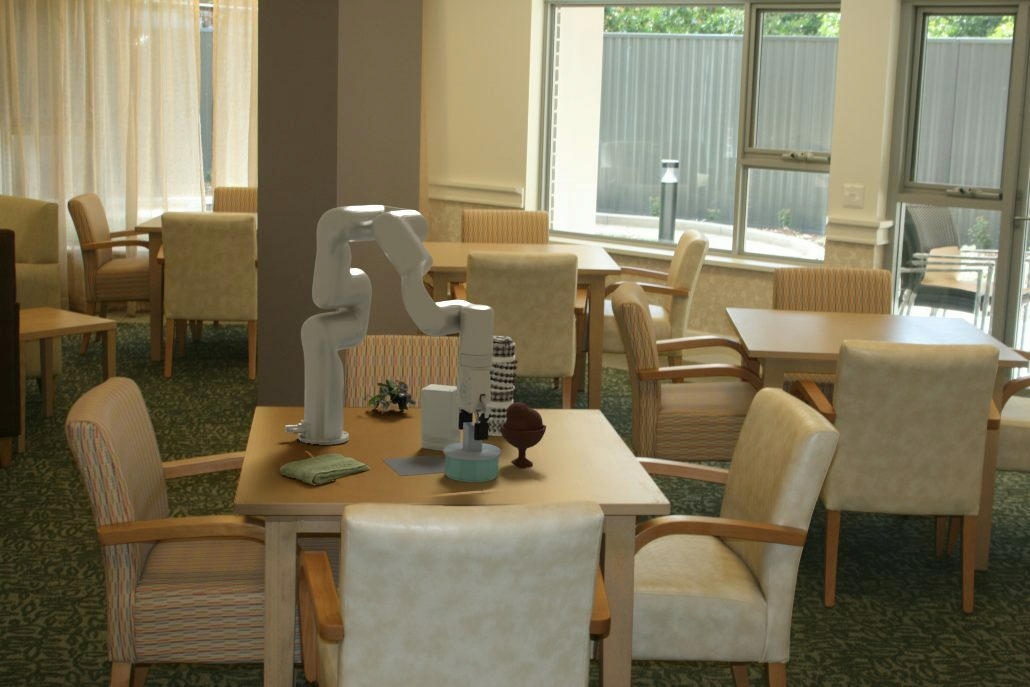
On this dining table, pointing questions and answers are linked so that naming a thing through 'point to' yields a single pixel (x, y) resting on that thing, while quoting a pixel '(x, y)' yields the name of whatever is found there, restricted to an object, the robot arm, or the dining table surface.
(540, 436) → the ice cream bowl
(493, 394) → the decorative candle
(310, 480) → the washcloth
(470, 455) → the lid
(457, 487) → the dining table surface
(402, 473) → the mat
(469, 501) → the dining table surface
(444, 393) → the skincare box
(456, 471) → the bowl
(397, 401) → the green leafy plant
